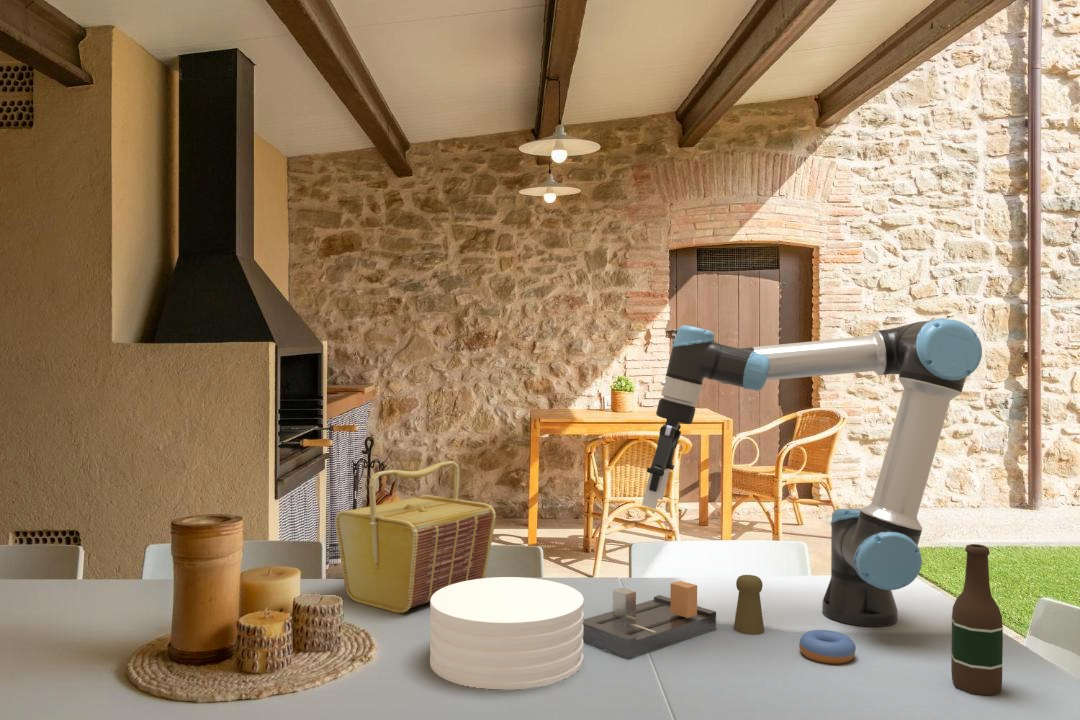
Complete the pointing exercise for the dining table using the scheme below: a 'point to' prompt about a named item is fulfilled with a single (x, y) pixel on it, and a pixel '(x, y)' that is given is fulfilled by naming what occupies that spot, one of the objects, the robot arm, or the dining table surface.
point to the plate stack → (506, 632)
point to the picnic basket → (412, 545)
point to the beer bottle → (977, 630)
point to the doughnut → (827, 646)
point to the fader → (683, 599)
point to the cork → (749, 606)
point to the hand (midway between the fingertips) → (652, 502)
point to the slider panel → (643, 625)
